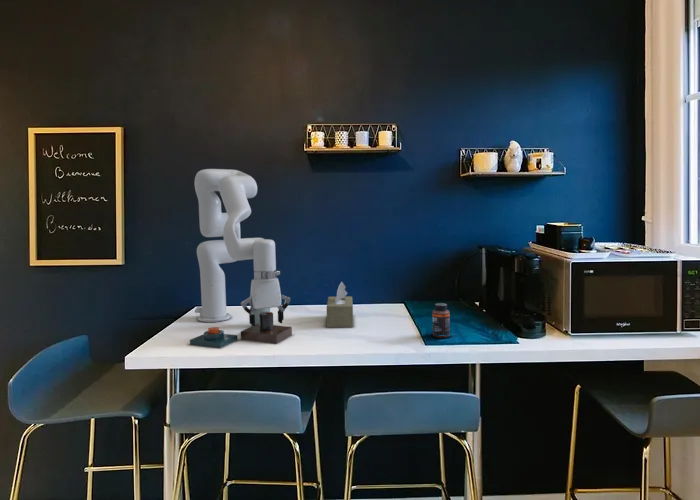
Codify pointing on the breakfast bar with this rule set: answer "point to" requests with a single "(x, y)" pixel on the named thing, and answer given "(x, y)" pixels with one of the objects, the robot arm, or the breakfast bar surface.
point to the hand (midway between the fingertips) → (266, 324)
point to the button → (213, 330)
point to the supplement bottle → (441, 320)
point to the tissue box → (340, 309)
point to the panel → (266, 334)
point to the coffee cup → (258, 313)
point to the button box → (213, 339)
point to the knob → (266, 321)
